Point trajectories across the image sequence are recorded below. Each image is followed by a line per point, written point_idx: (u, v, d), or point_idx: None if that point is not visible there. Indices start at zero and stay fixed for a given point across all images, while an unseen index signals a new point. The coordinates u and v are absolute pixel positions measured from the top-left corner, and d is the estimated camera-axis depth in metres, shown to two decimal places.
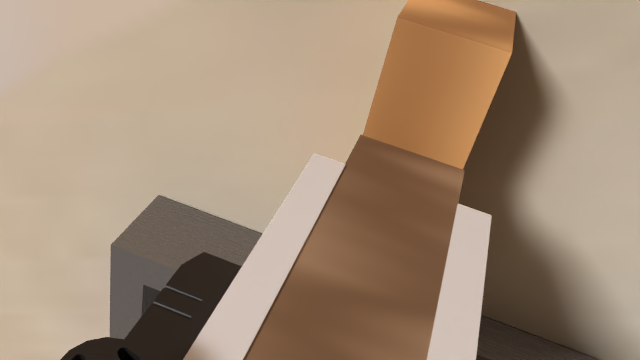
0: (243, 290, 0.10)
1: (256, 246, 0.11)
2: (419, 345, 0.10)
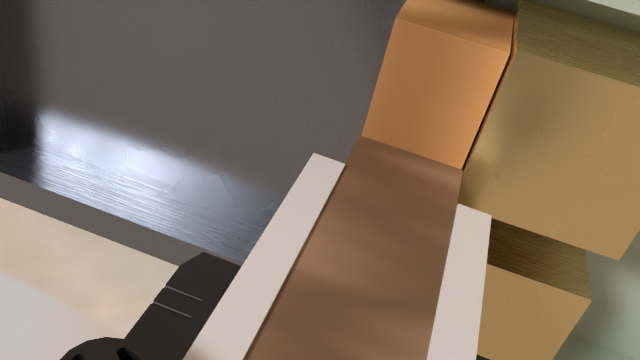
0: (243, 290, 0.10)
1: (256, 246, 0.11)
2: (418, 346, 0.10)
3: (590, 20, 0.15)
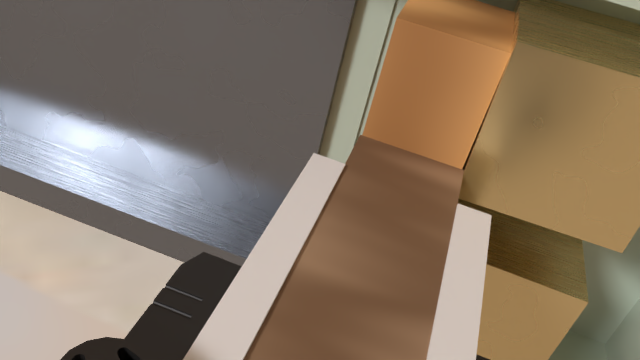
0: (243, 290, 0.10)
1: (256, 246, 0.11)
2: (418, 345, 0.10)
3: (594, 14, 0.15)
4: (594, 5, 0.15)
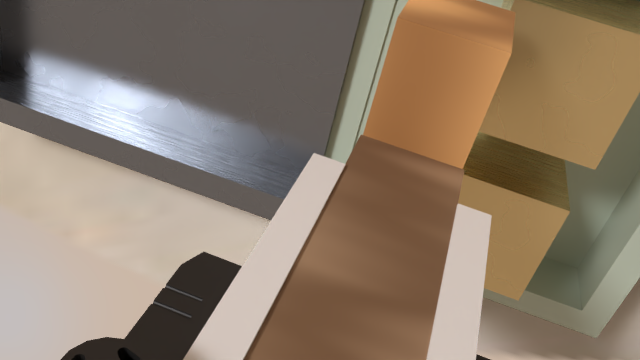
0: (243, 290, 0.10)
1: (256, 246, 0.11)
2: (419, 344, 0.10)
3: None
4: None
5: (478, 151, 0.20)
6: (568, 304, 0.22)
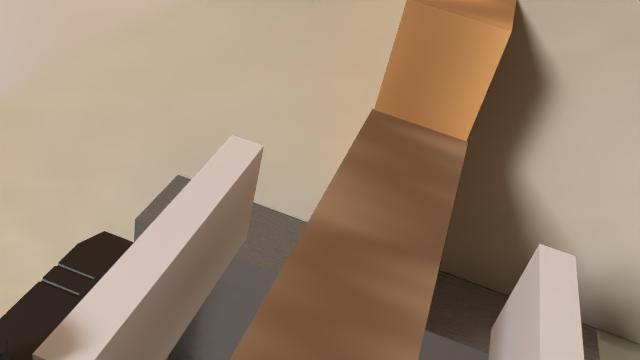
0: (129, 267, 0.10)
1: (152, 224, 0.10)
2: (425, 283, 0.11)
3: None
4: None
5: None
6: None
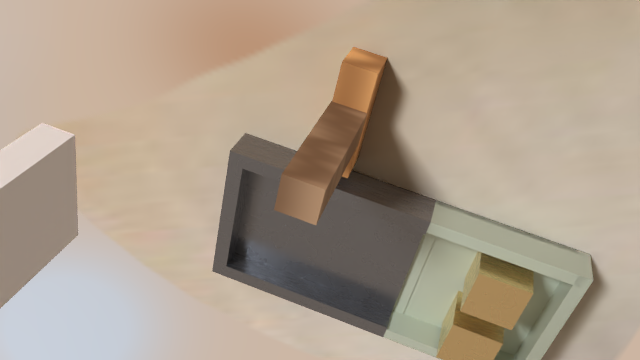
0: None
1: None
2: (342, 152, 0.37)
3: None
4: None
5: None
6: None
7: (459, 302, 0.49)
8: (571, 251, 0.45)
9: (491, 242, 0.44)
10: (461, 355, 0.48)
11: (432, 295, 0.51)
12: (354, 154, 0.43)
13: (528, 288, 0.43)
